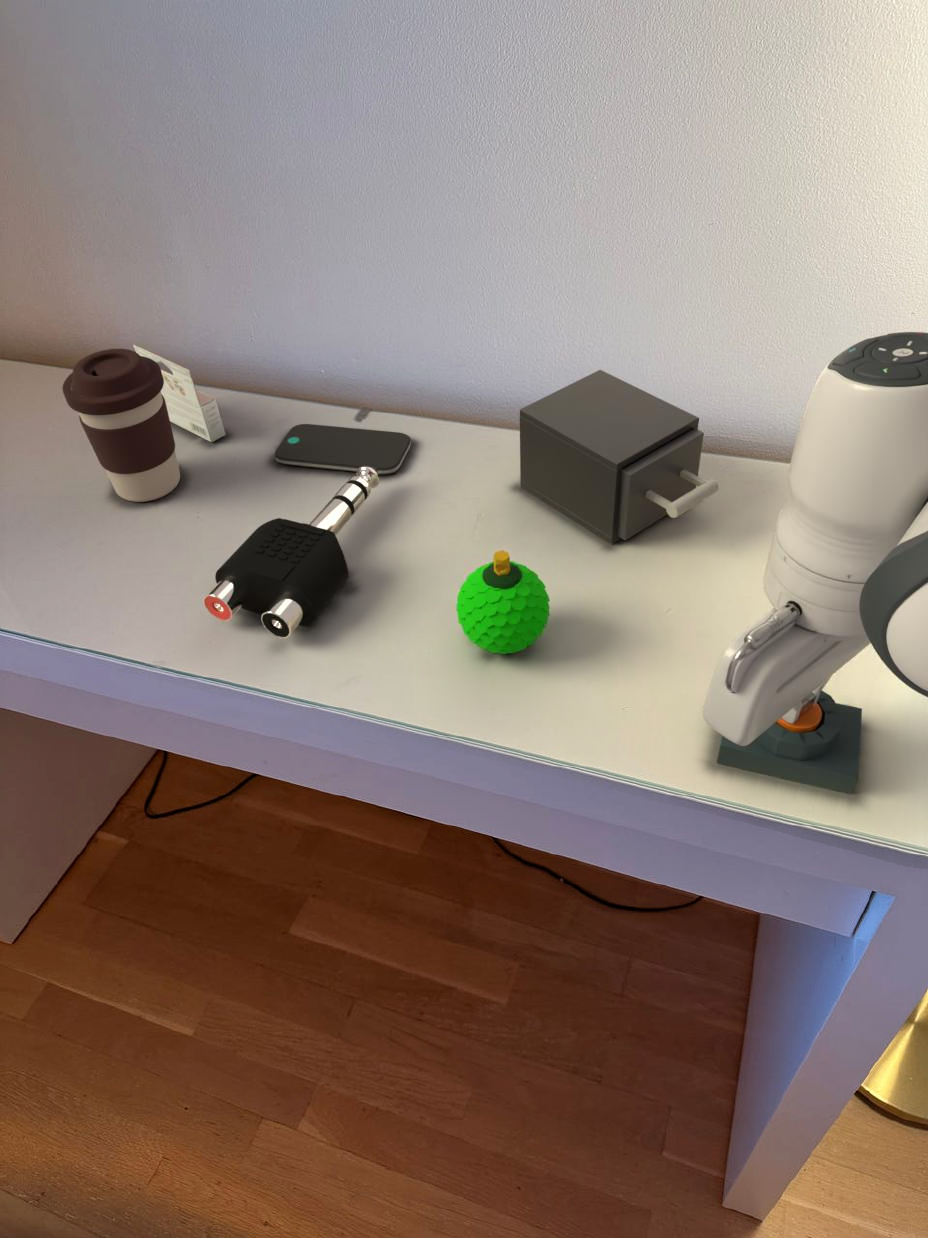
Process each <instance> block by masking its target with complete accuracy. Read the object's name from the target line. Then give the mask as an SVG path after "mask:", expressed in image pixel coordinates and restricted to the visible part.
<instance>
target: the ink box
mask: <svg viewBox="0 0 928 1238" xmlns="http://www.w3.org/2000/svg"><path fill="white" fill-rule="evenodd" d="M132 346H133V349H134V351H135V352H136V353H138V354H139V355H140V356H143V357H147V358H150V359H152V360H154V361H155V362H156V363H157V364H159V363H162V364H163V365H164V366H166V368H168V369H169V370H170V371H171V373H170V372H169V371H165V370H163V369H161V372H162V375H163V379H164V385H163V388H162V390H161V394H162V395H163V397H164V399H165V402H166V406H167V411H168V415H169V419H170V423H172V424H174V425H176V426H177V427H180V428H182V429H183V430H186V431H188V432H190V433H192V434H194V435H196V436H197V437H199V438H202V439H203V440H206V441H208V442H209V443H214V442H215V441H217V440H219V439H221V438H223V437H225V436H226V432H225V429H224V425H223V422H222V419H221V415H220V409H219V407H218V404H217V400H216V398H215V397H213V396H211V395H209V394H206V393H205V392H202V391H200V390H198V389H196V386H195V385H196V384H195V381H194V380H193V375H192V373H191V370H190V369H188V368H186V367H183V366H182V365H180V364H177V363H175V362H173V361H171V360H168V359H167V358H164V357H162V356H160V355H158V354H157V353H153V352H151V351H149V350H147V349H145V348H143V347H140V346H138V345H136V344H132Z"/></svg>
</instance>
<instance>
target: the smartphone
mask: <svg viewBox="0 0 928 1238" xmlns="http://www.w3.org/2000/svg"><path fill="white" fill-rule="evenodd" d="M411 445H412V440H411V437H410V435H408V434H406V433H403V432H397V431H389V430H377V429H365V428H357V427H356V428H355V427H344V426H331V425H325V424H324V425H323V424H312V423H301V424H296V425H294V426H292V427H291V428H290V429H289V431H288V432H287V433H286V434H285V436H284V438H283V439H282V441H281V442H280V443H279V445H278V446H277V447H276V449H275V451H274V460H275V462H276V461H277V463H279V464H282V465H287V466H295V467H296V466H297V467H307V468H315V469H323V470H324V469H325V470H334V471H343V472H344V471H345V472H354V473H356V472H357V470H358V469H359V468H360V467H363V466H367V467H377V470H378V475H391V474H394V473H396V472H397V471H398V470H399V468H400V467H401V466H402V464H403V462H404V460H405V458H406V456H407V454H408V452H409V450H410V449H411Z"/></svg>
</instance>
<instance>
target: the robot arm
mask: <svg viewBox="0 0 928 1238" xmlns="http://www.w3.org/2000/svg"><path fill="white" fill-rule="evenodd" d="M790 458H791V459H790V463H789V467H788V475H787V477H788V479H787V480H788V487H789V495H788V499H787V501H786V503H785V504H784V506H783V507H782V509H781V510H780V512H779V514H778V516H777V519H776V523H775V526H774V531H773V536H772V540H771V544H770V547H769V548H770V549H769V552H768V556H767V559H766V560H767V561H766V565H765V569H764V573H763V579H762V581H763V582H762V585H763V590H764V594H765V596H766V598H767V600H768V601H769V603H770V604H771V606H772V607H773V608H772V609H770V610H769V611H768V612H767V613H765V614H764V615H763V616H761V617H760V618H758V619H757V620H755V622H753V623H751V624H750V625H749V626H748V627H746V628H744V629H743V630H742V631H741V632H739V633H738V634H737V635H736V636H735V637H734V638H733V639H732V640H731V641H730V642H729V643H728V644H727V646H726V647H725V648H724V650H723V652H722V653H721V655H720V657H719V659H718V661H717V663H716V666H715V668H714V671H713V674H712V677H711V680H710V683H709V687H708V690H707V693H706V697H705V700H704V704H703V708H702V718H703V720H704V721H705V723H706V724H707V725H708V726H710V727H711V728H712V729H713V730H714V731H716V732H717V733H718V734H720V735H721V737H722V736H724V737H725V738H727V739H728V740H730V741H732V742H734V743H736V744H738V745H740V746H746V745H748V744H750V743H751V742H753V741H754V740H755V739H756V738H757V737H758V736H760V735H761V734H762V733H763V732H764V731H766V730H767V729H768V728H769V727H770V726H772V725H773V724H774V723H775V722H776V721H778V720H779V719H780V718H782V719H783V720H785V721H786V722H788V723H790V724H793V723H794V722H795V721H796V720H798V719H799V718H800V717H801V716H802V715H803V714H804V713H805V712H807V711H808V710H809V709H810V708H812V707H813V706H814V705H815V704H817V701H818V698H819V695H820V692H821V690H822V691H823V690H824V688H825V686H826V685H827V684H828V682H829V681H830V679H831V678H832V677H833V675H834V674H835V673H837V672H838V671H839V670H841V668H843V667H844V666H845V665H846V664H848V663H849V662H850V661H851V660H853V658H855V657H856V656H858V654H860V653H861V652H862V651H863V650H864V649H866V648H867V647H868V646H869V645H871V646H872V648H873V650H874V651H875V652H876V654H877V655H878V657H879V658H880V660H881V661H882V663H883V664H884V665H885V666H886V667H887V668H888V670H889V671H890V672H891V673H892V674H893V675H894V676H895V677H896V678H897V679H899V680H900V681H901V682H902V683H903V684H904V685H906V686H907V687H908V688H910V689H912V690H913V691H914V692H917V693H918V694H920V695H922V696H924V697H926V698H928V332H923V331H903V332H890V333H886V334H883V335H878V336H874V337H870V338H865V339H863V340H861V341H859V342H857V343H855V344H853V345H851V346H850V347H848V348H846V349H845V350H843V351H842V352H840V353H839V354H838V355H837V356H835V357H834V358H833V359H832V360H831V361H829V362H828V364H826V366H825V367H824V369H823V370H822V371H821V373H820V375H819V377H818V378H817V381H816V383H815V384H814V387H813V390H812V391H811V395H810V397H809V400H808V402H807V405H806V408H805V411H804V414H803V416H802V419H801V423H800V426H799V429H798V432H797V436H796V439H795V443H794V446H793V451H792V455H791V457H790Z"/></svg>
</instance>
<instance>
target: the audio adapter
mask: <svg viewBox="0 0 928 1238" xmlns="http://www.w3.org/2000/svg"><path fill="white" fill-rule="evenodd" d="M355 474H356V475H354V476H351V477H350V478H349V479H348V480H347V481H346V482H345V483H344V484H343V485H342V486H341V487H340V488H339V490H338V491H337V492H336V493H335V495H333V496H332V498H331V499H330V500H329V501H328V502H327V503H326V504H325V506H324V507H323V508H322V509H321V510H320V511H319V512H318V513H317V514H316V516H315V517H314V518H313V519H312V520H311V521H310V522H309V524H308V523H304V522H298V521H294V520H290V519H287V518H280V517H278V518H277V517H276V518H274V519H271V520H269V521H266V522H265V523H262V524H261V525H259V526H258V527H257V528H256V529H255V530H254V531H252V533H251V534H250V535H249V536H248V537H247V539H245V541H244V542H242V544H240V545H239V547H238V548H237V549H236V550H235V551H234V552H233V553H232V554H231V556H230V557H228V559H227V560H226V561H224V563H223V564H222V565H221V566H220V567H219V568H218V569H217V570H216V572H215V576H214V577H215V578H214V579H215V583H216V584H215V585H214V587H212V588H211V590H210V591H209V592H207V594H206V595H205V596H204V598H203V604H204V607H205V609H206V610H207V611H208V612H209V614H210V615H212V616H213V617H214V618H216V619H218V620H220V621H224V622H228V621H231V620H232V618H234V616H235V615H236V614H237V613H238V611H240V609H243V610H246V611H250V612H253V613H256V614H260V615H261V617H260V619H261V623H262V626H263V627H264V628H265V629H266V630H267V631H268V632H269V633H270V634H271V635H273V636H276V637H278V638H279V639H287V638H289V637H290V636H291V634H292V633H293V632H294V631H295V630H296V628H297V627H298V626H309V625H312V624H313V623H314V622H315V621H316V619H317V618H318V617H319V616H320V614H321V613H322V612H323V611H324V609H325V608H326V607H327V605H328V604H329V603H330V602H331V601H332V600H333V598H334V597H335V596H336V594H337V593H338V591H340V589H341V588H342V587H343V585H344V584H345V583H346V581H347V580H348V579H349V569H348V563H347V561H346V558H345V555H344V552H343V550H342V547H341V545H340V542H339V539H338V538H337V535H338V533H339V532H340V531H341V530H342V529H343V528H344V526H345V525H346V524H347V523H348V522H349V520H350V519H351V517H353V515H355V513H356V512H357V511H358V510H359V509H360V507H362V505H363V504H364V502H365V500H367V499H368V498H369V497H370V495H371V492H372V491H371V490H372V489H375V488H377V487H378V486H379V484H380V476H379V475H380V474H378V470H377V467H367V466H363V467H360V468H359V469H358V470H357V472H355Z"/></svg>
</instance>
